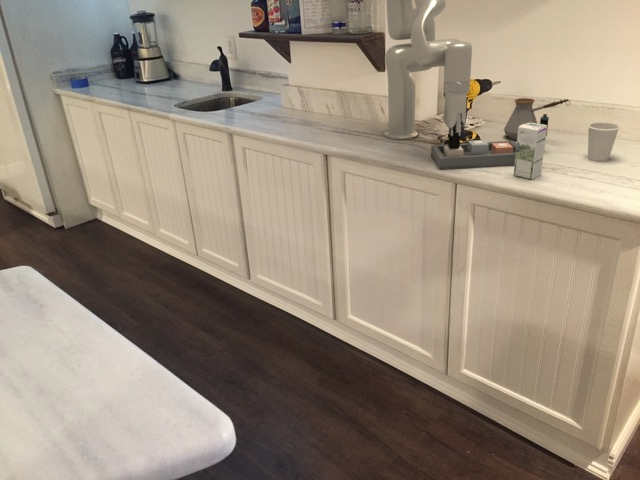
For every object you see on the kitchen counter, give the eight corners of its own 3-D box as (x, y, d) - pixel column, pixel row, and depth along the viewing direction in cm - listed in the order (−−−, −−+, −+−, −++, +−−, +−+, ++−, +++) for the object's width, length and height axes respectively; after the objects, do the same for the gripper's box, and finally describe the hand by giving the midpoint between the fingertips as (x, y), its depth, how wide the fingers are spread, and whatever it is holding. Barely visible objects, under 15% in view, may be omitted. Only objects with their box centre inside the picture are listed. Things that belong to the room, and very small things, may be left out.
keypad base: (431, 155, 174) (431, 145, 173) (511, 151, 174) (512, 140, 172) (439, 169, 162) (440, 158, 160) (526, 164, 161) (528, 153, 160)
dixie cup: (604, 164, 157) (610, 131, 153) (577, 158, 163) (582, 126, 159) (619, 158, 161) (625, 125, 157) (592, 152, 167) (597, 120, 163)
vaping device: (543, 153, 169) (548, 115, 164) (526, 151, 172) (530, 114, 167) (545, 151, 171) (550, 113, 166) (529, 149, 174) (533, 112, 169)
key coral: (491, 150, 169) (492, 143, 168) (507, 149, 169) (508, 142, 168) (496, 155, 164) (496, 147, 163) (512, 154, 164) (513, 146, 163)
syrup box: (541, 174, 153) (548, 124, 146) (531, 180, 149) (537, 129, 143) (523, 170, 157) (528, 121, 150) (512, 176, 153) (517, 125, 147)
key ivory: (443, 153, 169) (443, 145, 168) (459, 152, 169) (459, 144, 168) (446, 158, 165) (447, 150, 164) (463, 157, 165) (463, 149, 164)
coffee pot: (496, 138, 187) (500, 94, 181) (515, 131, 194) (520, 88, 187) (553, 150, 172) (559, 102, 165) (572, 142, 178) (579, 96, 171)
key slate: (467, 148, 169) (468, 140, 167) (483, 147, 168) (484, 139, 167) (471, 153, 164) (472, 144, 163) (488, 152, 164) (488, 143, 163)
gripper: (438, 83, 165) (436, 141, 173) (449, 92, 151) (446, 155, 159) (463, 81, 164) (460, 140, 172) (476, 90, 151) (472, 154, 159)
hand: (453, 147), depth 166 cm, fingers closed
